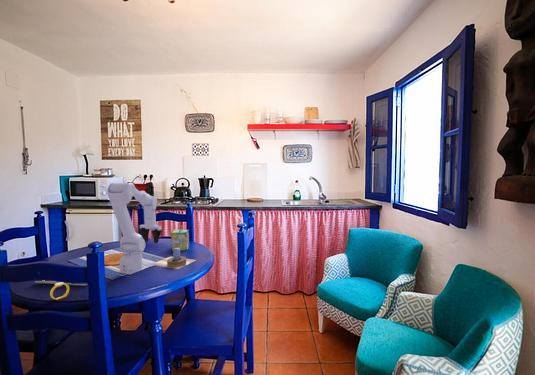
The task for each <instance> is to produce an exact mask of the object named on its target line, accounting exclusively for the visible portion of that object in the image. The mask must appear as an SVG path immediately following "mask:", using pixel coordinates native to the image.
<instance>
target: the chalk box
mask: <svg viewBox="0 0 535 375" xmlns="http://www.w3.org/2000/svg"><path fill="white" fill-rule="evenodd" d="M182 228H183V225H180V227H179V229H173V231H172V232H171V234H170V236H171V238H170V239H171V251H172V252H173V249H174V248H180V251H187V250H189V247H190V241H189V240H190V234H189V231H190V229H182Z"/></svg>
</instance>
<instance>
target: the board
mask: <svg viewBox="0 0 535 375" xmlns="http://www.w3.org/2000/svg"><path fill="white" fill-rule="evenodd" d="M172 257H173V256H172V255H171V256H168V257H166V258H163V259H160V260H158V261H156V262H153V263H152V264H150V265H151V266H152V265H153V266H157V267H162V268H163V267H164V268H168V269H172V270H179V269H181V268H184V267H185V266H188V265H189V264H192V263H194V262H195V261H197V259H192V258H191V259H190V258H186V264H185V265H183V266H180V267H168V266H167V260H168V259H170V258H172Z"/></svg>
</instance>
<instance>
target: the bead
mask: <svg viewBox="0 0 535 375" xmlns="http://www.w3.org/2000/svg"><path fill="white" fill-rule="evenodd" d="M186 259H187V257H186V256H182V255H180V260H178V261H174V256H172V258H170V259H168V260H167V266H168V267H180V266H183V265H185V264H186ZM185 266H186V265H185ZM183 267H184V266H183Z"/></svg>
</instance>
